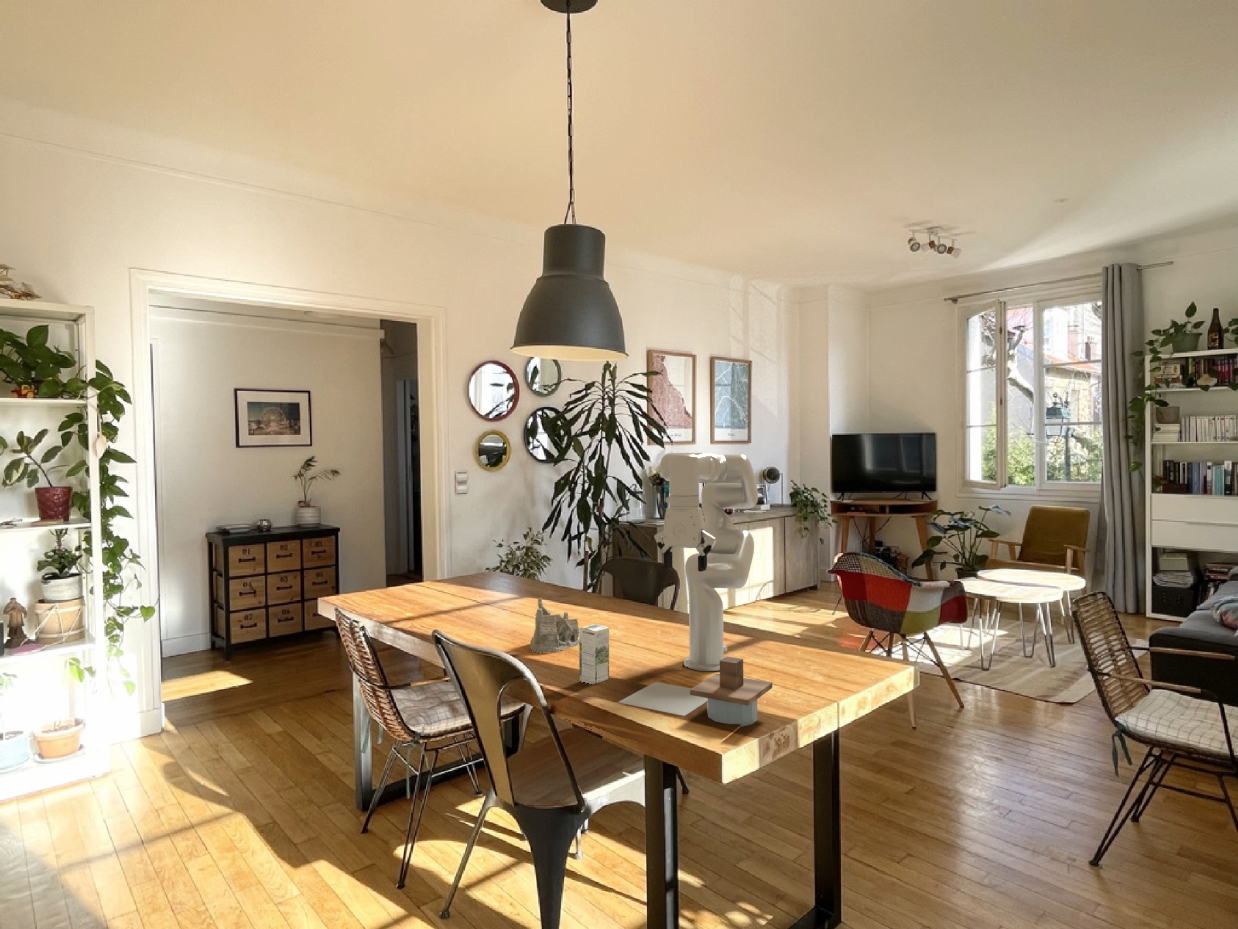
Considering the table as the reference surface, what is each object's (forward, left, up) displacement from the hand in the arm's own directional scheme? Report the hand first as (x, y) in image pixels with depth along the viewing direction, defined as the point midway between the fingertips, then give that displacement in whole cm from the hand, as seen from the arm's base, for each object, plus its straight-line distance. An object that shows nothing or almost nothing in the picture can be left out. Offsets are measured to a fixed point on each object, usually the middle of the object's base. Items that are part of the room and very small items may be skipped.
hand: (685, 569), depth 192 cm
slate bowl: (+14, +19, -30) cm, 38 cm away
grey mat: (+11, +1, -30) cm, 32 cm away
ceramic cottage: (-15, -54, -31) cm, 64 cm away
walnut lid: (+14, +19, -24) cm, 34 cm away
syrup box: (+8, -23, -31) cm, 39 cm away
